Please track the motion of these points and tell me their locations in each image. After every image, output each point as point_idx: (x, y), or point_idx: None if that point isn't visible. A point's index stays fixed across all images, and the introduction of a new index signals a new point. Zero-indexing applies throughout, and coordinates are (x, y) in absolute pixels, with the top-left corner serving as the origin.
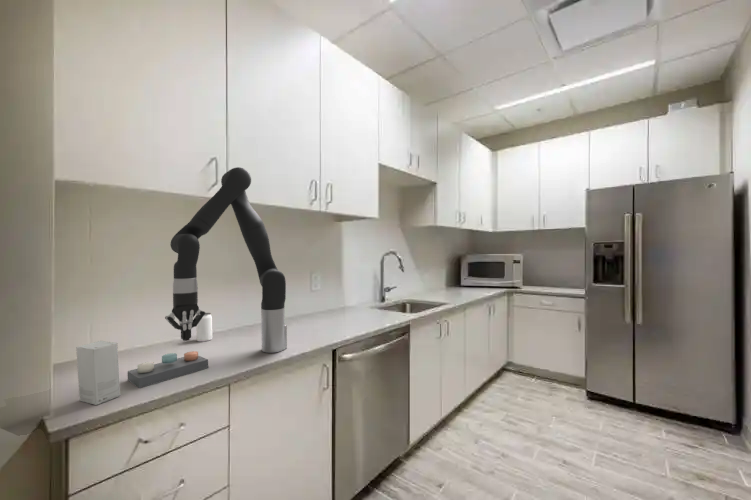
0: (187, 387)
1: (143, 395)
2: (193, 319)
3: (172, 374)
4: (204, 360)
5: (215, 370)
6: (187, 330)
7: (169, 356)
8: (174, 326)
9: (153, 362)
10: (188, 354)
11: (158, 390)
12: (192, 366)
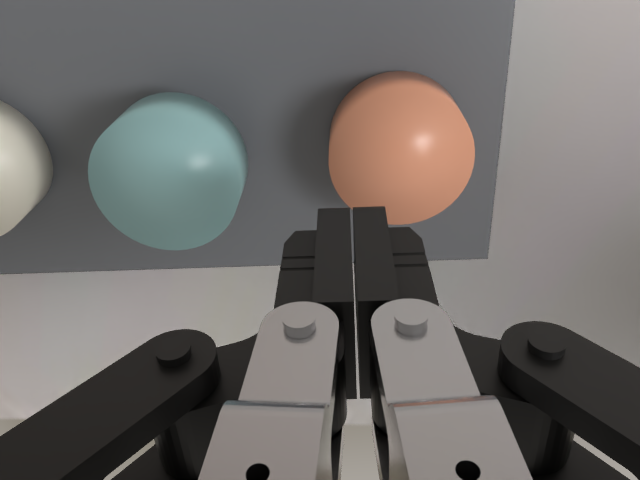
0: None
1: (17, 353)
2: (627, 445)
3: None
4: (453, 259)
5: (472, 303)
6: (360, 394)
7: (156, 224)
8: (121, 398)
9: (22, 176)
10: (362, 182)
11: (93, 347)
12: None
